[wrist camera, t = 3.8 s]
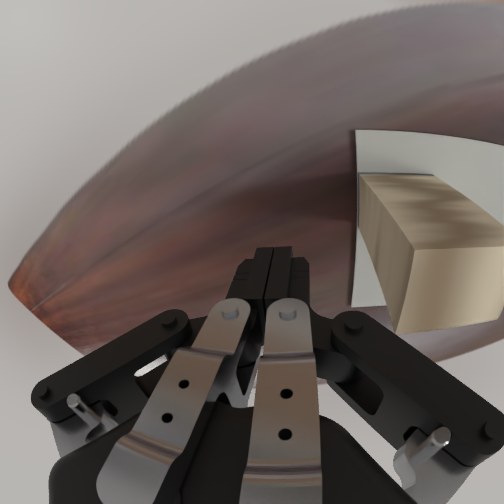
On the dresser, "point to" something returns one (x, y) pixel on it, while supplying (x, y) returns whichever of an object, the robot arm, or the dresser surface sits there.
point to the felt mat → (425, 162)
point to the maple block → (431, 251)
